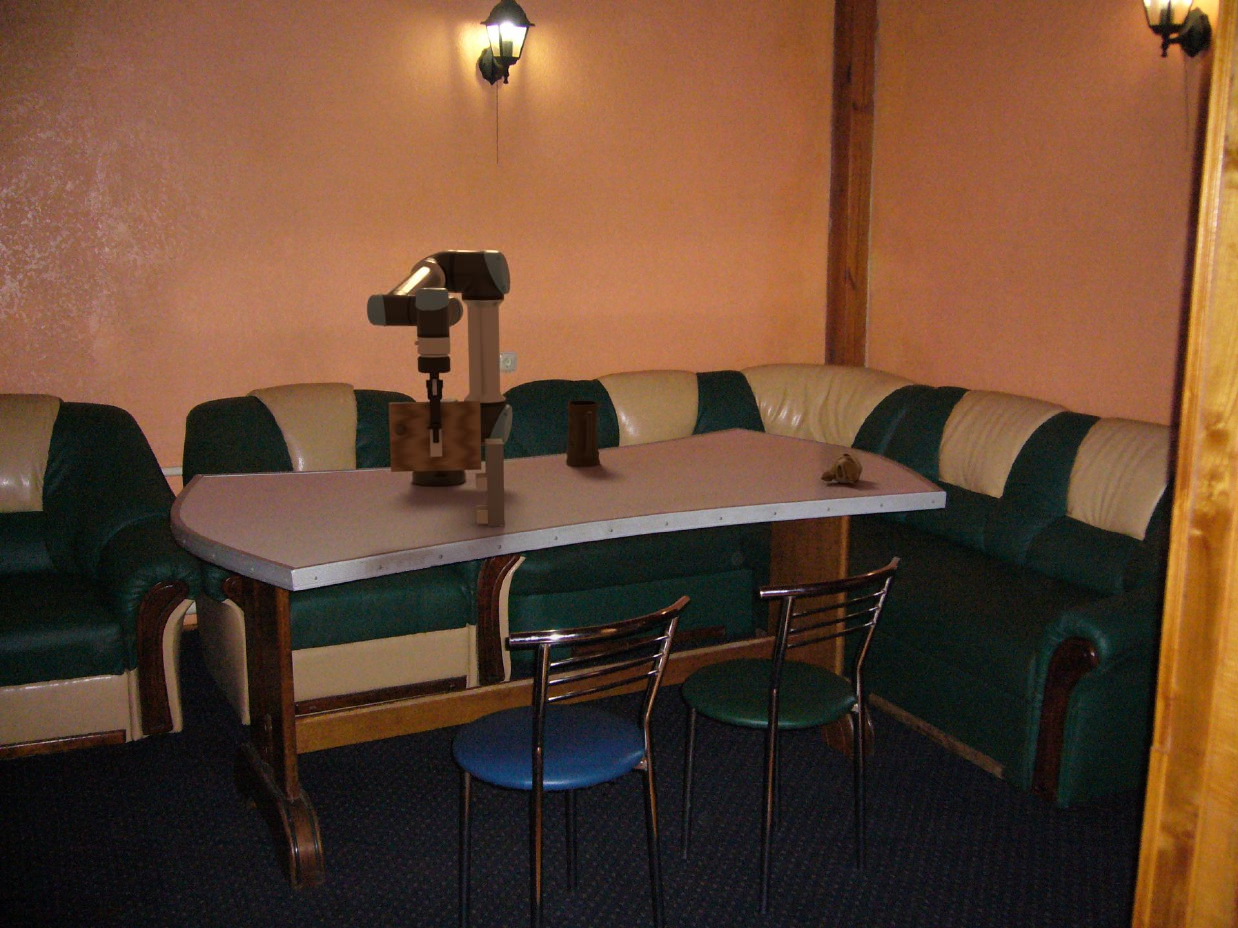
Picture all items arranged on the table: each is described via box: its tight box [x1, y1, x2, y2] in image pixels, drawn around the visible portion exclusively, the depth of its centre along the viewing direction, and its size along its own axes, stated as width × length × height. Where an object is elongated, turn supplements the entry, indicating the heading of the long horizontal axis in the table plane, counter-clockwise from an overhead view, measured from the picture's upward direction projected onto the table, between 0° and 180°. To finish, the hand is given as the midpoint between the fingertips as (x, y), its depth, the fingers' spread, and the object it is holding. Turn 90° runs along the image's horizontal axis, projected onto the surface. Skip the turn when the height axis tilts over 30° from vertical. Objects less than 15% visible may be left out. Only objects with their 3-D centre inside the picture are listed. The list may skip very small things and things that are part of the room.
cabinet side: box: [474, 439, 506, 527], centre depth 257 cm, size 6×8×20 cm
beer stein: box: [565, 399, 601, 468], centre depth 328 cm, size 15×10×20 cm
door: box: [388, 400, 482, 473], centre depth 251 cm, size 21×4×16 cm, turn 99°
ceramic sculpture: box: [820, 453, 863, 485], centre depth 307 cm, size 11×9×15 cm
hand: (436, 454), depth 253 cm, fingers closed on door, 3 cm apart
